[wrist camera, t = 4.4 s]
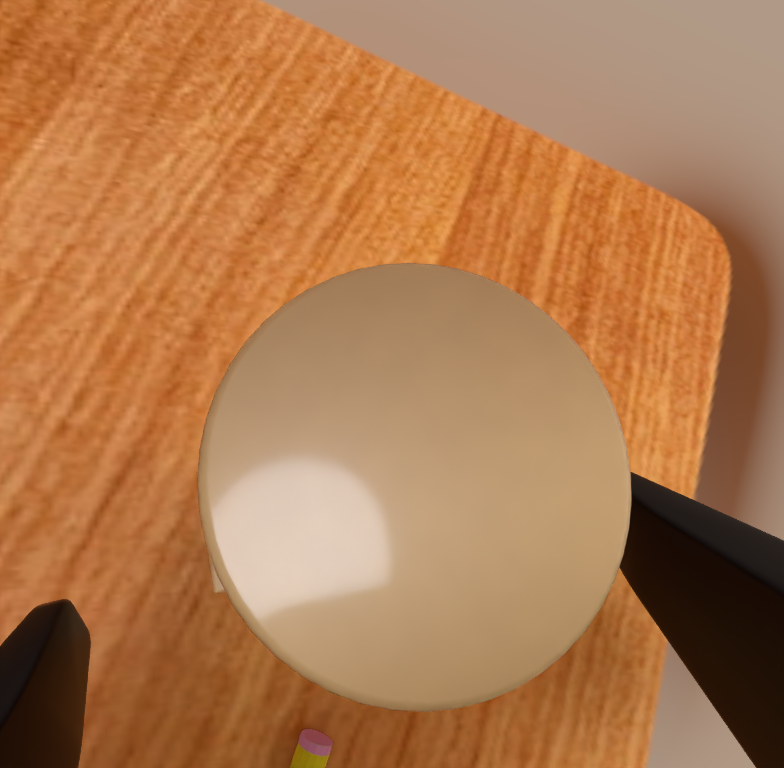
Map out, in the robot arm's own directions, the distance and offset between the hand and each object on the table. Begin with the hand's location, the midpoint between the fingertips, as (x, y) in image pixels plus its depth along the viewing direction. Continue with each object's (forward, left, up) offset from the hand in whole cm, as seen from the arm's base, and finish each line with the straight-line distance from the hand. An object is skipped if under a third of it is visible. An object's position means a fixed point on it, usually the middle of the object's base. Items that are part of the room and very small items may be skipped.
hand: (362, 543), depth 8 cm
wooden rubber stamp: (+1, -1, -8) cm, 8 cm away
